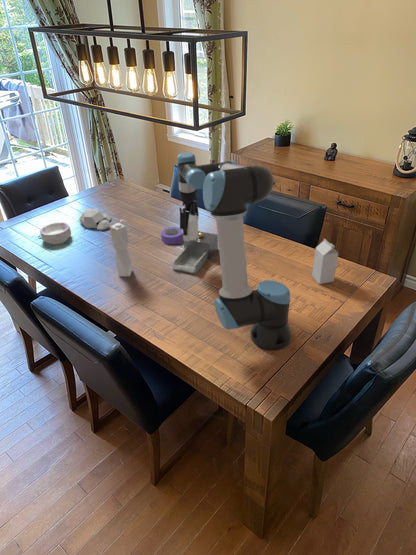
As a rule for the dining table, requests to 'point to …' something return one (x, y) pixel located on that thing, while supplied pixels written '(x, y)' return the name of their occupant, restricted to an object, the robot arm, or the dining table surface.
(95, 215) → the rock
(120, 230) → the skyscraper
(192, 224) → the white cup
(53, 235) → the paper bowls
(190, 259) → the grey cabinet
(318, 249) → the white milk carton
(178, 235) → the tape roll
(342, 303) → the dining table surface
